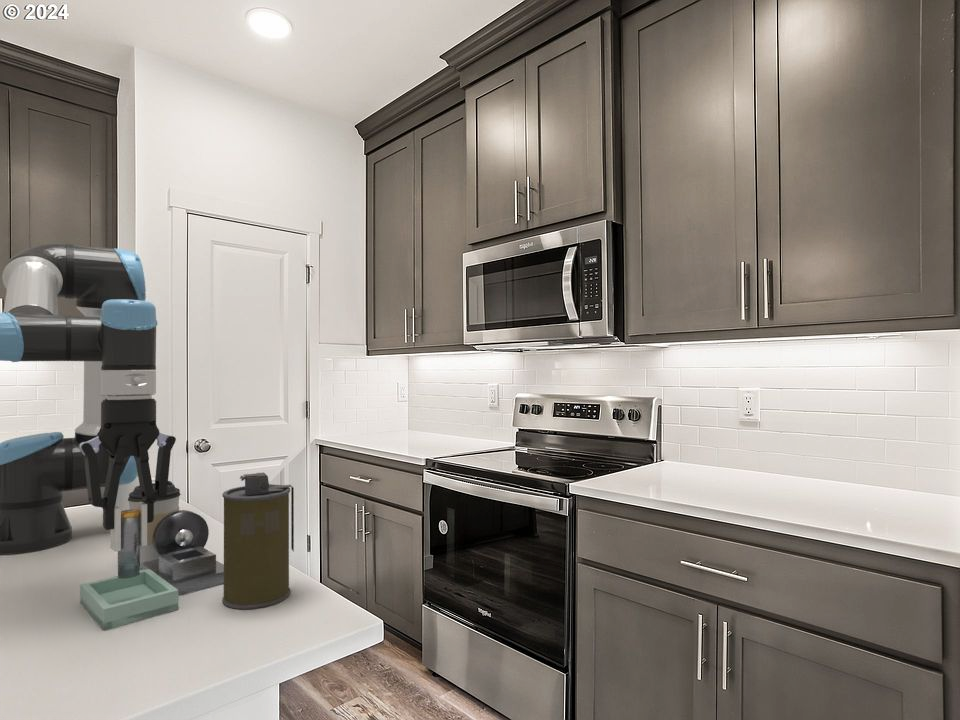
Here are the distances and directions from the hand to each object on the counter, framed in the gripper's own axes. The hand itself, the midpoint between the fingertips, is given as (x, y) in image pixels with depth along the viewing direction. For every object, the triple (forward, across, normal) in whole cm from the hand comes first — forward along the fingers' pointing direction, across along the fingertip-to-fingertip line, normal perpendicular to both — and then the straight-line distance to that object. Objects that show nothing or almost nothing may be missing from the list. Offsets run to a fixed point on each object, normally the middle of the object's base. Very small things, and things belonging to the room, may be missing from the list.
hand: (128, 546), depth 92 cm
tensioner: (+9, +11, +7) cm, 16 cm away
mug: (+9, +19, +65) cm, 69 cm away
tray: (+9, 0, 0) cm, 9 cm away
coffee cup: (+10, +10, +21) cm, 25 cm away
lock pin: (+5, 0, 0) cm, 5 cm away
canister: (+10, +16, -11) cm, 22 cm away
